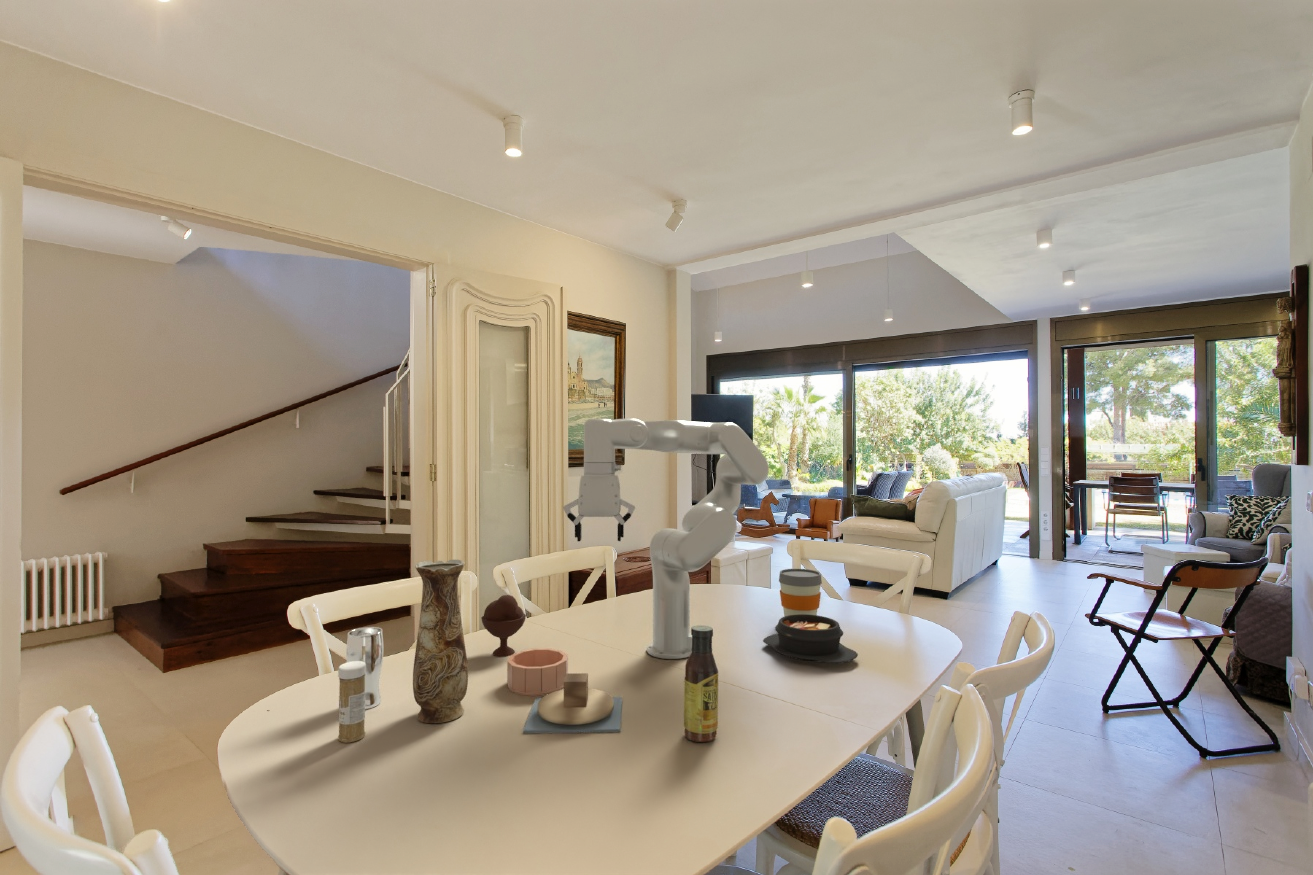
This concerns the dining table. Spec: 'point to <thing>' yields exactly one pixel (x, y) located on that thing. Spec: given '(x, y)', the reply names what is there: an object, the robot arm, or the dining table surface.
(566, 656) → the bowl
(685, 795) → the dining table surface
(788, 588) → the reusable coffee cup
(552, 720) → the lid
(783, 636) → the casserole
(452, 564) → the vase
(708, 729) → the sauce bottle
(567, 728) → the mat
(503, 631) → the ice cream bowl
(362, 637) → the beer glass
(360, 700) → the sprinkles bottle
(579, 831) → the dining table surface
